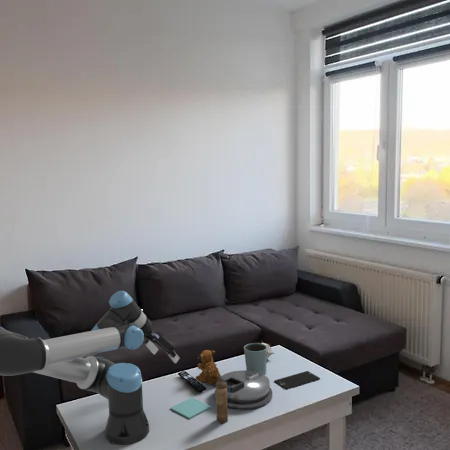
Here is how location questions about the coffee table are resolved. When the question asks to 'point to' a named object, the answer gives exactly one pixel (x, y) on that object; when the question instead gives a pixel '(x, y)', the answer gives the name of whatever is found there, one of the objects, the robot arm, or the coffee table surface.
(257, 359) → the green cup
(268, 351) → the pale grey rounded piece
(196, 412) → the key mat
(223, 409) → the key peg
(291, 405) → the coffee table surface
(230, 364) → the coffee table surface
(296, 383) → the cell phone
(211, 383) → the brown teddy bear
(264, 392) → the disc
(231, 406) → the base
